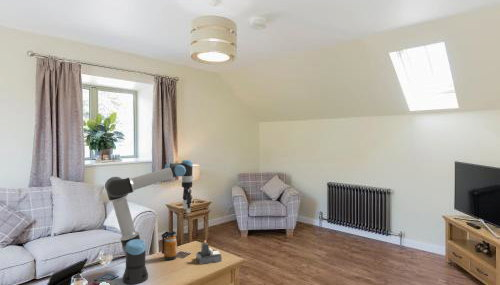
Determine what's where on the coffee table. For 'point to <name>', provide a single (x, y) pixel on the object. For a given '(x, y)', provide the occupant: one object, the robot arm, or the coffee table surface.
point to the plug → (204, 249)
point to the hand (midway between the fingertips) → (186, 210)
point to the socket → (208, 258)
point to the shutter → (213, 252)
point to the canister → (169, 245)
